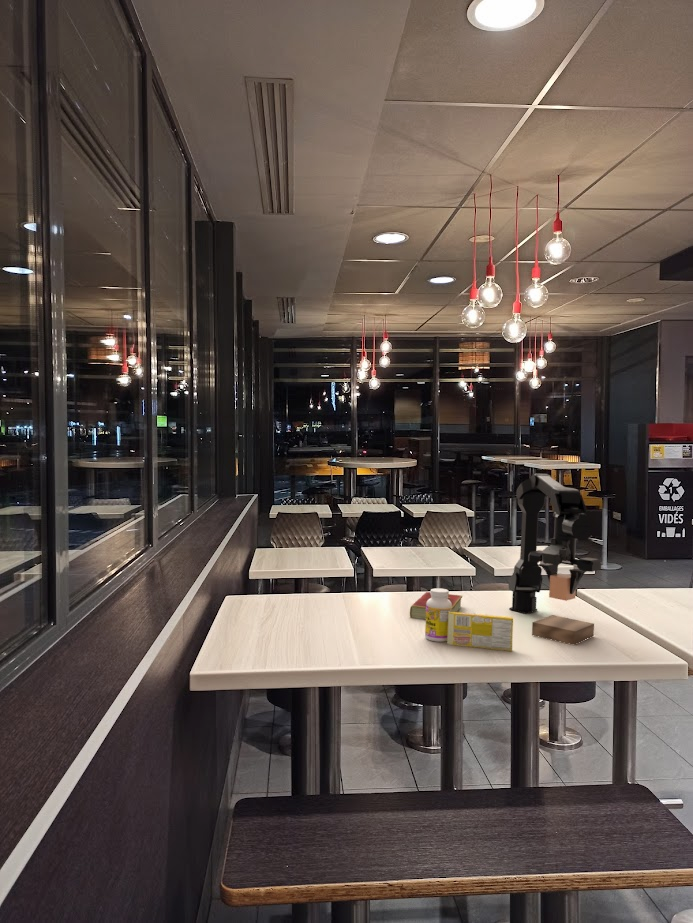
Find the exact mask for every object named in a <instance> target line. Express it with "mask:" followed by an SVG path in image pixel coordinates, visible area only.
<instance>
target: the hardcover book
mask: <svg viewBox="0 0 693 923" xmlns="http://www.w3.org/2000/svg"><path fill="white" fill-rule="evenodd" d="M430 593H431V591H425V593H424V594H422V596H421V597H420V598H418V599H417V600H416V601H415V602H414V603H413V604H411V606H410V609H409V617H410V618H415V619H416V618H417V619H424V620H426V603H427V600H428V599H430V598H431V594H430ZM462 598H463V595H462V594H461V595H459V594H450V593H449V595H448V600H450V601H451V603H452V612H459V609H460V608H461V605H462V604H461V602H462Z"/></svg>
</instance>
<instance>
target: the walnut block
mask: <svg viewBox="0 0 693 923" xmlns="http://www.w3.org/2000/svg"><path fill="white" fill-rule="evenodd" d="M531 625H532V628H531V630H532V631H531V636H533V635H534V636H533V637H538V636H539V638H542V637H543V639H546V638H547V640H550V639H552V640H551V641H555V640H556V641H555V642H559V641H561V642H560V643H563V642H565V643H564V644H567V643H570V644H569V645H571V644H576V643H578V644H580V643H582V642H581V641H583V640H585V639H587V638H590V637H592V636H594V635H595V633H594V632H595V623H594V622H593V623H592V622H589V621H582V620H578V619H574V618H568V617H566V616H565V617H563V616H559V615H555V614H554V615H553V614H552V615H549V616H546V617H543V618H541V619H537V620H534V621H532V624H531ZM594 637H595V636H594ZM592 638H593V637H592ZM590 639H591V638H590ZM587 640H588V639H587ZM585 641H586V640H585ZM579 642H580V643H579ZM583 642H584V641H583ZM576 645H577V644H576Z"/></svg>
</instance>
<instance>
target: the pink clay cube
mask: <svg viewBox="0 0 693 923" xmlns="http://www.w3.org/2000/svg"><path fill="white" fill-rule="evenodd" d="M570 581H571V574H564V573H557V574H554V575H550V582H549V590H548V591H549V592H548V597H549V598H551V599H556V600H562V601H565V602H566V601H570V600H573V599H576V590H577V588H576V589H575V591H574V593H573V594H570Z"/></svg>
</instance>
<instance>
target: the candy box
mask: <svg viewBox="0 0 693 923" xmlns="http://www.w3.org/2000/svg"><path fill="white" fill-rule="evenodd" d="M513 633H514V617H513V616H511V617H510V616H502V615H491V614H490V615H489V614H488V615H487V614H481V613H480V614H479V613H477V614H476V613H470V612H469V613H467V612H459V611H457V612H449V613H448V636H447V641H446V644H447V645H453V646H461V647H471V648H479V649H487V650H488V649H489V650H494V651H495V650H497V651H504V652H505V651H506V652H512V651H513Z"/></svg>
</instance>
